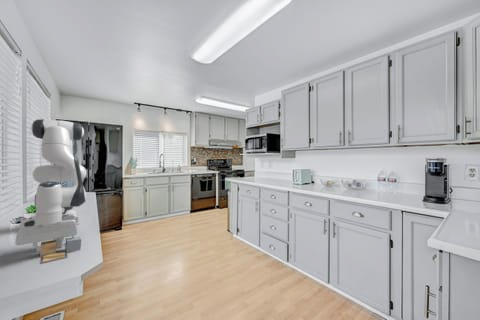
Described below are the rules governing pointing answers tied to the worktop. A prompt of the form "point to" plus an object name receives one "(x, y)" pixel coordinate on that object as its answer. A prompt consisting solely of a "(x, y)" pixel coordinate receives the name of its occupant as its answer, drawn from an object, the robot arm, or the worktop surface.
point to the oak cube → (48, 248)
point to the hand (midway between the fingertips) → (48, 249)
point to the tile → (53, 257)
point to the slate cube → (73, 244)
